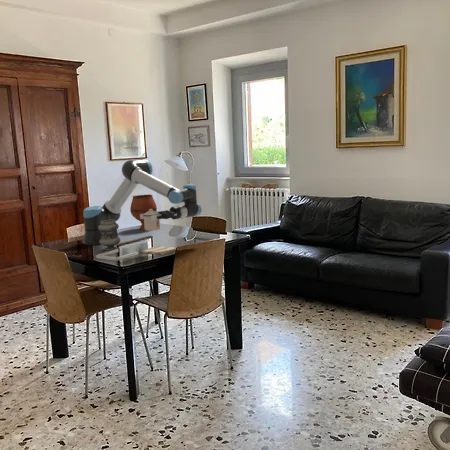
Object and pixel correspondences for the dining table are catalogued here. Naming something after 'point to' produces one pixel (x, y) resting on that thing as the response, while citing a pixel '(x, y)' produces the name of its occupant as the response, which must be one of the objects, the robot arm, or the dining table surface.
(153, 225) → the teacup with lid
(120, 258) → the cup dock
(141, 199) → the goblet
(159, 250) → the oak board
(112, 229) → the apothecary jar
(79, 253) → the dining table surface
